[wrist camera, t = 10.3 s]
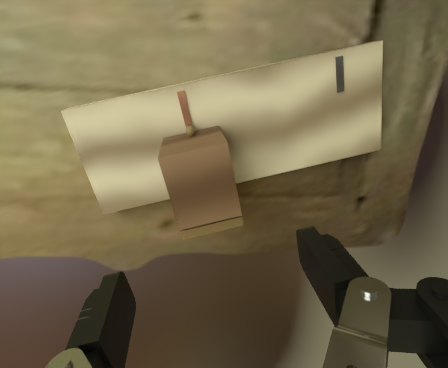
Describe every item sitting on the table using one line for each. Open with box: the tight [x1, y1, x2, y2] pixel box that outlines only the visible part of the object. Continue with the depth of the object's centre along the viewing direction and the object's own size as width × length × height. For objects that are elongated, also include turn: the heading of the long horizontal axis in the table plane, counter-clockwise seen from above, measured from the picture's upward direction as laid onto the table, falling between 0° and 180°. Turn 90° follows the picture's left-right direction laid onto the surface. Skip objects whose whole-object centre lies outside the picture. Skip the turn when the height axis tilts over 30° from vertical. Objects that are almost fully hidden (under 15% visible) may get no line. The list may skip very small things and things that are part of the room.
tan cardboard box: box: [158, 124, 244, 240], centre depth 25 cm, size 8×5×7 cm, turn 11°
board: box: [61, 40, 383, 214], centre depth 28 cm, size 10×28×2 cm, turn 101°
